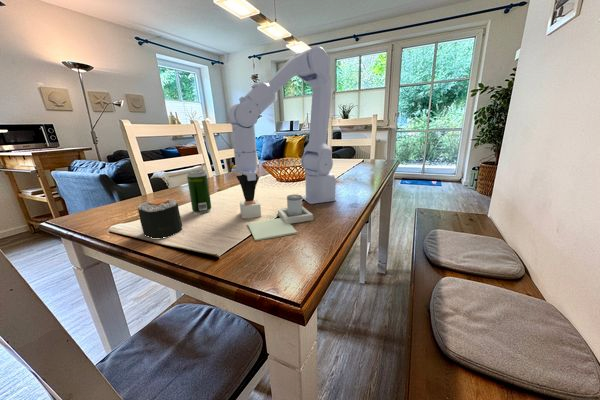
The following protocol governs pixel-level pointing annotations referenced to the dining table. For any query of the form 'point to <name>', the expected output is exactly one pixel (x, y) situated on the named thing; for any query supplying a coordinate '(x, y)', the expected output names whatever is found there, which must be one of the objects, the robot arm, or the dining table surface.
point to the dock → (295, 219)
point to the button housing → (250, 209)
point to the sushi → (160, 218)
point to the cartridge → (294, 205)
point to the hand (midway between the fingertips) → (249, 200)
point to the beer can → (199, 191)
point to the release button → (249, 202)
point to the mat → (271, 229)
